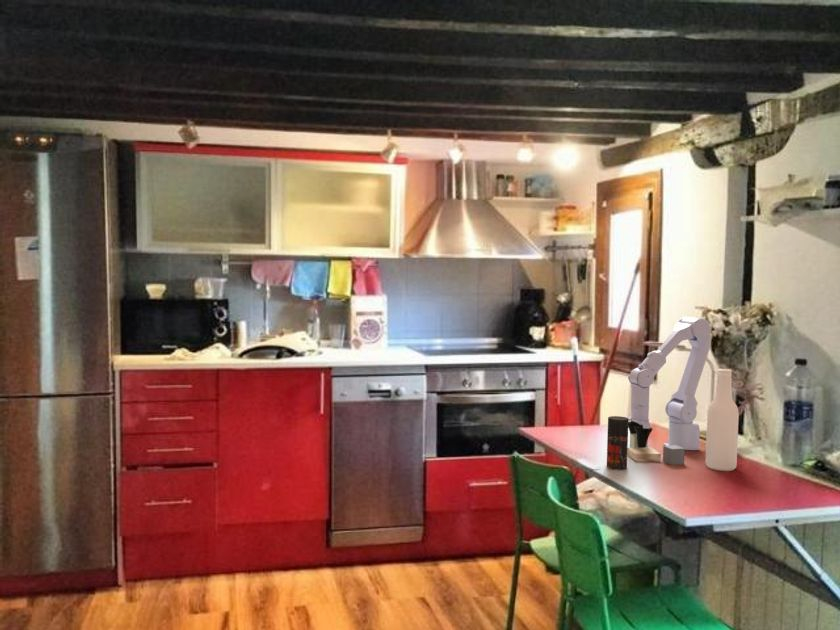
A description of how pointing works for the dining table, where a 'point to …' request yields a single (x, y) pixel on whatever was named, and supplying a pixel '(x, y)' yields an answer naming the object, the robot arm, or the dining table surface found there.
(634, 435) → the sage cube
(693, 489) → the dining table surface
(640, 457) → the birch slab
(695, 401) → the robot arm
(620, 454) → the deodorant
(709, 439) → the alcohol
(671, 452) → the grey cube
